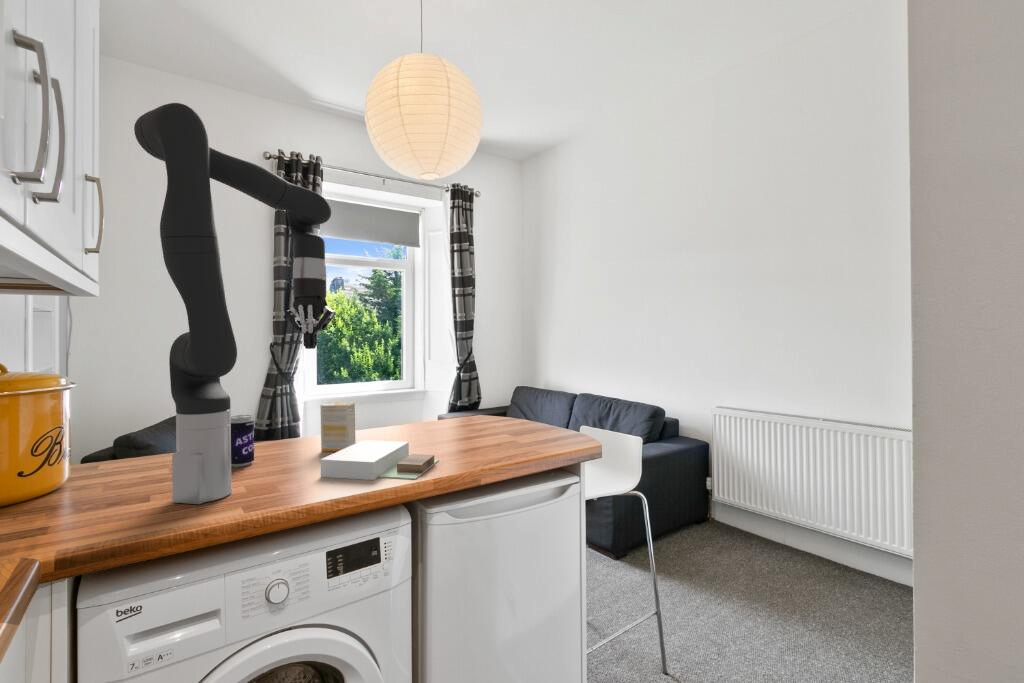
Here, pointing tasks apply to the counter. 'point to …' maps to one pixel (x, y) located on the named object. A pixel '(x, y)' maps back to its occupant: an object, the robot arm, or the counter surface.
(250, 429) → the beverage can
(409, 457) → the brown wooden block
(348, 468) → the white flat block
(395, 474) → the mat
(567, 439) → the counter surface
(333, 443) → the supplement box
